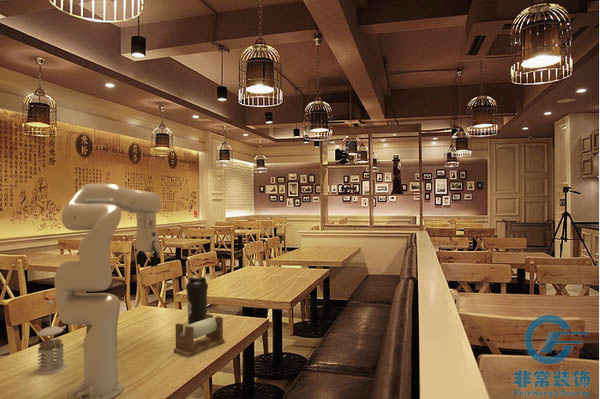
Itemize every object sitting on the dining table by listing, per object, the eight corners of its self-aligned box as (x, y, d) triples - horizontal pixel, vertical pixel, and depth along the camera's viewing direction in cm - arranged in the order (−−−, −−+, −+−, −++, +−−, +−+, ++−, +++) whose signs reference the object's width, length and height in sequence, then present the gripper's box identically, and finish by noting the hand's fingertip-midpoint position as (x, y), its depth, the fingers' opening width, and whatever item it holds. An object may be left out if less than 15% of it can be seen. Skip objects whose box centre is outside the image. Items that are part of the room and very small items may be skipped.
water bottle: (184, 324, 199) (184, 277, 199) (205, 321, 204) (205, 275, 203) (188, 330, 190) (187, 280, 190) (210, 327, 194) (209, 278, 194)
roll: (181, 345, 161) (188, 337, 158) (174, 333, 163) (181, 324, 160) (218, 332, 176) (225, 324, 173) (211, 320, 178) (217, 312, 176)
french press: (60, 361, 156) (59, 295, 155) (73, 369, 148) (72, 300, 148) (30, 370, 148) (29, 301, 148) (43, 379, 141) (41, 306, 140)
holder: (188, 357, 158) (188, 328, 158) (173, 352, 164) (173, 324, 164) (224, 342, 174) (224, 316, 174) (210, 338, 179) (209, 313, 179)
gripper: (166, 224, 170) (167, 265, 171) (142, 223, 181) (143, 262, 181) (150, 225, 164) (151, 268, 164) (126, 224, 174) (127, 264, 175)
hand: (147, 265), depth 173 cm, fingers open, 9 cm apart
